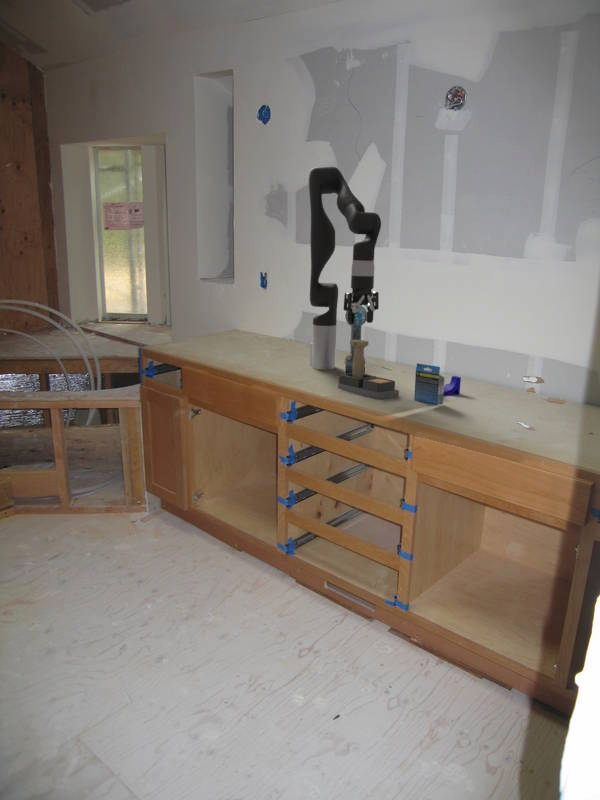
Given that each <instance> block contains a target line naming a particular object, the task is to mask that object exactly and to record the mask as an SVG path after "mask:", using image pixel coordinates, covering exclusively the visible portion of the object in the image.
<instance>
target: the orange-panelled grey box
mask: <svg viewBox="0 0 600 800" xmlns="http://www.w3.org/2000/svg"><path fill="white" fill-rule="evenodd" d="M338 376H339V377H338V383H337V388H338V389H341V390H343V391H347V392H351V393H354V394H357V395H361V396H364V397H369V398H373V399H377V400H384V399H390V398H391V399H392V398H395V397H396V398H397V397H399V396H400V395H399V393H400V389H395V388H396V387H395V386H396V381H395V380H393V379H387V378H383V377H379V376H378V377H377V376H375V375H371V374H367V373H364V374H363V378H355V377H353V376H352V372H348V373H342V374H339V375H338ZM373 379H383V380H387V381H389V382H383V383H377V382H372V381H368V380H373Z"/></svg>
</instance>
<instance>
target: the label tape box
mask: <svg viewBox="0 0 600 800" xmlns="http://www.w3.org/2000/svg"><path fill="white" fill-rule="evenodd" d="M415 367H416V368H415V377H414V378H415V382H414V384H415V385H414V395H413V396H414V399H413V400H414V401H418V402H422V403H428V404H433V405H441V404H443V403H444V396H445V395H444V386H445V376H442V375H441V374H440V371H441V367H440V366H436V365H431V364H430V365H429V364H425V363H420V362H419V363H416V366H415ZM426 369H429V370H426Z"/></svg>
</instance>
